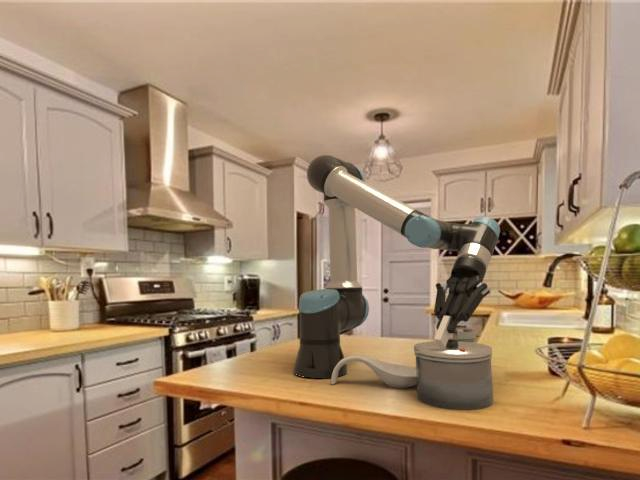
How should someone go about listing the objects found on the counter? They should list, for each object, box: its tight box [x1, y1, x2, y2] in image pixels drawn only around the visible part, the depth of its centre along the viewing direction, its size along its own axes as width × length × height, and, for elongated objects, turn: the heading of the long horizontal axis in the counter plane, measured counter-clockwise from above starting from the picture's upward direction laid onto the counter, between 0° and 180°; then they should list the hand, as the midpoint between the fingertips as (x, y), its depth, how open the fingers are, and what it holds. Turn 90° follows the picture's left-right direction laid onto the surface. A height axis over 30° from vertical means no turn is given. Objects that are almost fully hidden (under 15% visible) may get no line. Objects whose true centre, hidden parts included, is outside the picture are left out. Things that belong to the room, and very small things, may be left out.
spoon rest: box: [330, 354, 417, 389], centre depth 104 cm, size 24×12×7 cm, turn 81°
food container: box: [452, 327, 477, 343], centre depth 127 cm, size 12×6×10 cm, turn 168°
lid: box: [413, 338, 493, 359], centre depth 92 cm, size 17×17×3 cm
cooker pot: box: [414, 352, 494, 411], centre depth 92 cm, size 18×16×10 cm
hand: (439, 343), depth 88 cm, fingers closed
